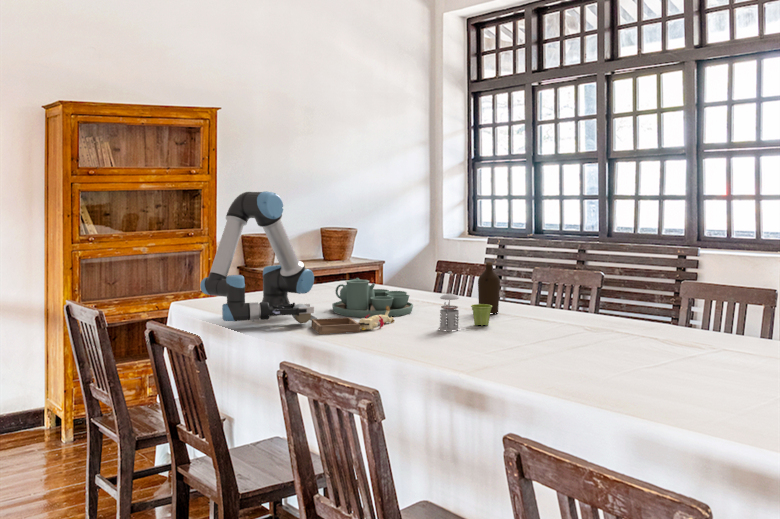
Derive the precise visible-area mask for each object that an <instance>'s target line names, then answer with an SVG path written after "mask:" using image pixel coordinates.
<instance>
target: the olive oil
mask: <svg viewBox="0 0 780 519" xmlns="http://www.w3.org/2000/svg"><path fill="white" fill-rule="evenodd" d="M493 264H494V263H493V261H485V270H483V272H482V273H481V274H480V275H479V276H478V280H477V290H478V294H477V296H478V298H477V299H478V304H487V305H492V307H491V311H490V313H497V312H498V313H499V307H500V306H499V305H500V304H499V303H500V302H499V301H500V289H501V288H500V287H501V280H500V277H499V275H498V274H497V273H496V272H495V271H494V269H493V267H494V265H493Z"/></svg>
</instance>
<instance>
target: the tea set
mask: <svg viewBox="0 0 780 519" xmlns="http://www.w3.org/2000/svg"><path fill="white" fill-rule="evenodd" d="M345 283H346V284H343V283H341V284H338V285H337V286H336V288H335V295H336V297H337V298H338V299H339V301H336V302H333V303H332V311H333V313H334V314H338V315H341V316H345V317H355V318H362V317H366V316H367V315H369V314H370V315H369V316H368V317H372V316H375V315H385V313H386V311H387V309H386V306H389V308H390V312H389V313H388V316H389V318H391V317H392V316H394V317H400V316H401V317H402V316H405V315H408V314H411V312H412V311H413V308H414V304H413V303H411V302H410V301H409V298H410V295H409V294H408V292H407V291H404V290H388V289H387V288H386V289H385V288H375V285H376V284H375V283H374V282H372V284H371V285H370V284H369V283H370V280H368V279H360V278H359V277H356V278H354V279H349V280H345ZM341 287H342V288H341ZM339 288H341V289H340V290H339ZM338 291H339V292H338Z"/></svg>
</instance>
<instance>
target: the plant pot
mask: <svg viewBox="0 0 780 519" xmlns="http://www.w3.org/2000/svg"><path fill="white" fill-rule="evenodd" d="M470 307H471V311H472V313H473V314H472V316H473V324H474V325H475V326H476V325H481V326H483V325H487V326H489V324H490V311H491V307H492V305H487V304H479V303H478V304H477V303H476V304H471V305H470Z"/></svg>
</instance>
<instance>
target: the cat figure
mask: <svg viewBox="0 0 780 519" xmlns="http://www.w3.org/2000/svg"><path fill="white" fill-rule="evenodd" d="M386 309H387V311H386V313H385V315H375V316H372V317H369V318H367V317H368V316H369V315H370V314H369V315H367V316H366V317H365V318H360V319H359V321H358V322H357V323H359V324H360V331H361V330H362V331H366V330H375V328H376V327H378V325H379V324H380V325H379V329H381V328H383V327H384V325H385V323H391V322H393V323H394V322H395V319H394V317H395V316H394V317H389V316H388V313H389V312H390V308H389V306H386Z"/></svg>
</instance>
